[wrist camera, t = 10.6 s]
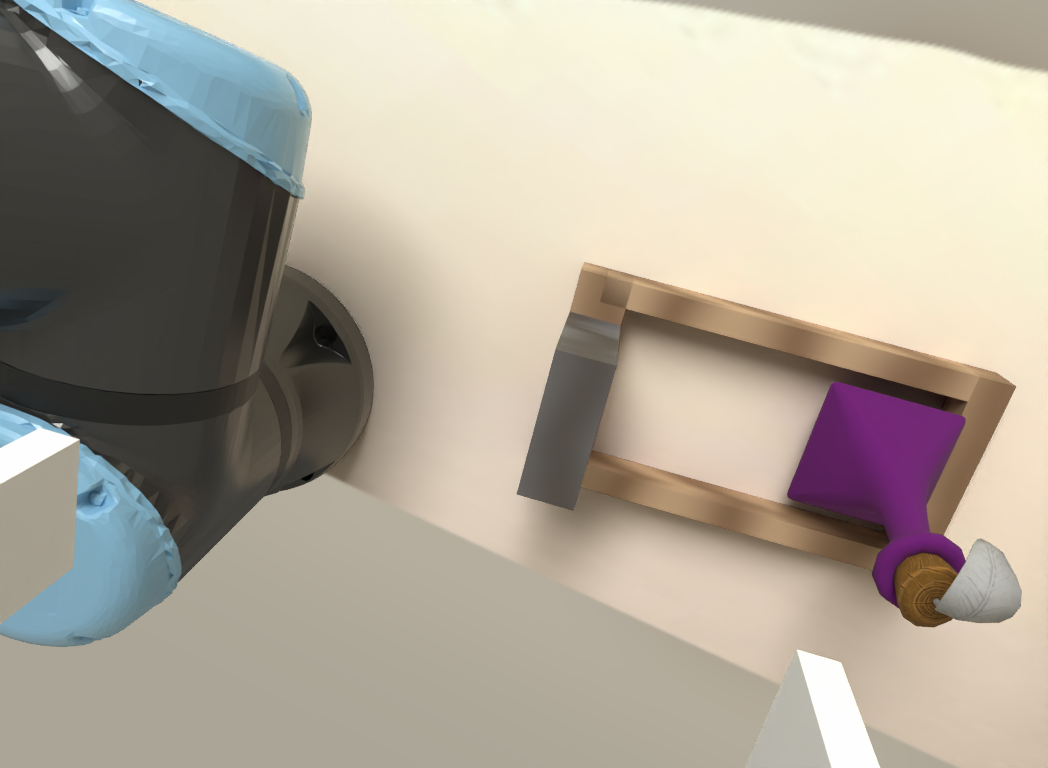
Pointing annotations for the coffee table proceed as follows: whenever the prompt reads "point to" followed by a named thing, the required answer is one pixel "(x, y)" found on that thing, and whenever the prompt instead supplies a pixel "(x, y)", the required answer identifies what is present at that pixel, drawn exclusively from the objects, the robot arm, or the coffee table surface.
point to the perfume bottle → (902, 504)
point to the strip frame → (570, 463)
